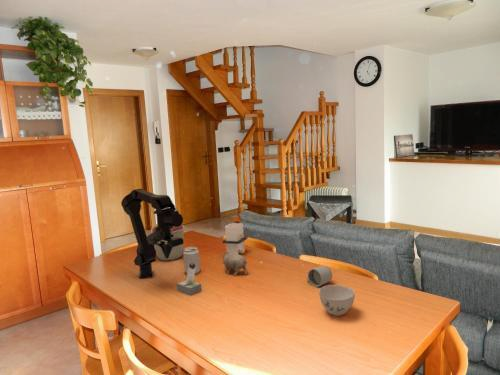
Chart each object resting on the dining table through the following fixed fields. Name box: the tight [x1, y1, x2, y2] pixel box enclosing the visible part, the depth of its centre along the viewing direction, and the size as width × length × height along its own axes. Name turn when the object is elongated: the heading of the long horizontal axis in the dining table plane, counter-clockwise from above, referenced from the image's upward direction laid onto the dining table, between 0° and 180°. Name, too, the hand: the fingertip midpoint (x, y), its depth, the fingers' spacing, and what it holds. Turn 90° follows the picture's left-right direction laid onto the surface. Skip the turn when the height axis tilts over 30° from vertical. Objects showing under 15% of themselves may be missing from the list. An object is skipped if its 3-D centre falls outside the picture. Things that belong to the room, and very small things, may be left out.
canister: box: [150, 225, 185, 261], centre depth 211 cm, size 18×18×21 cm
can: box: [182, 246, 201, 275], centre depth 187 cm, size 8×8×12 cm
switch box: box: [176, 279, 203, 296], centre depth 166 cm, size 9×6×3 cm, turn 49°
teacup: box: [318, 284, 356, 317], centre depth 140 cm, size 15×12×8 cm
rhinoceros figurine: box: [221, 252, 249, 276], centre depth 184 cm, size 8×14×15 cm
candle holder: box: [221, 222, 248, 255], centre depth 211 cm, size 25×24×16 cm
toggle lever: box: [185, 263, 196, 284], centre depth 163 cm, size 3×3×10 cm
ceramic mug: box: [306, 265, 333, 288], centre depth 166 cm, size 11×8×8 cm
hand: (167, 258), depth 173 cm, fingers closed
